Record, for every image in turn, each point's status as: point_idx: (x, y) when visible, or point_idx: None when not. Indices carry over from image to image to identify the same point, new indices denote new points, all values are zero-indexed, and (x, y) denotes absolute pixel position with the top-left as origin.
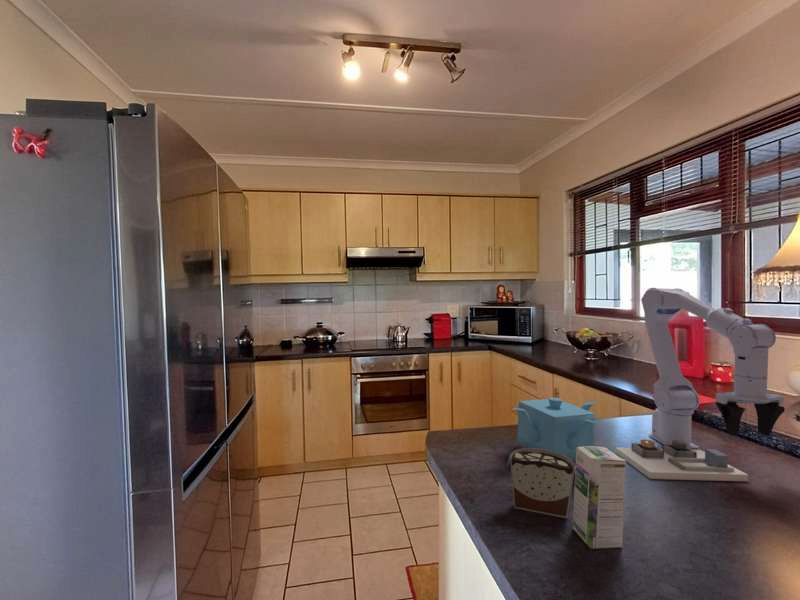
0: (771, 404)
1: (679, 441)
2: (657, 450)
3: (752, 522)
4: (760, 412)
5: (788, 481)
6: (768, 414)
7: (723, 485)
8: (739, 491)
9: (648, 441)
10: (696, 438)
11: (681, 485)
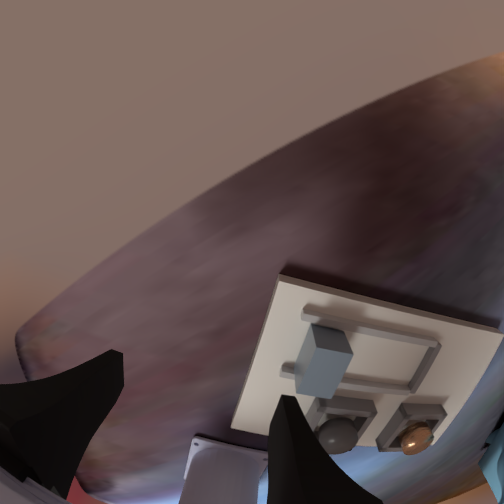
0: (10, 459)
1: (328, 448)
2: (414, 419)
3: (488, 125)
4: (73, 453)
5: (143, 244)
6: (61, 425)
7: (384, 270)
8: (379, 231)
9: (415, 446)
10: (140, 456)
11: (475, 291)
